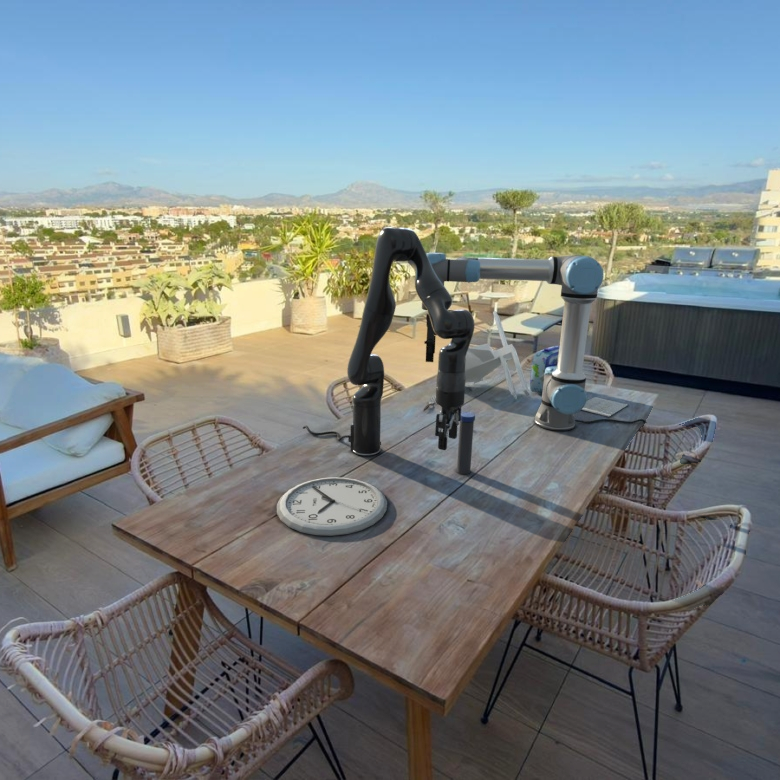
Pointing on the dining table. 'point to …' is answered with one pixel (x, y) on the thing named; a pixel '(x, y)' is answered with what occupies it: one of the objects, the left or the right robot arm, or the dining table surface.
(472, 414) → the lid
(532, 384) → the lunch box
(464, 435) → the bottle
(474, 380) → the white plastic object
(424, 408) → the fork
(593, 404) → the grey flat rectangular slab
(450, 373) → the left robot arm
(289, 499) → the wall clock
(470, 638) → the dining table surface
